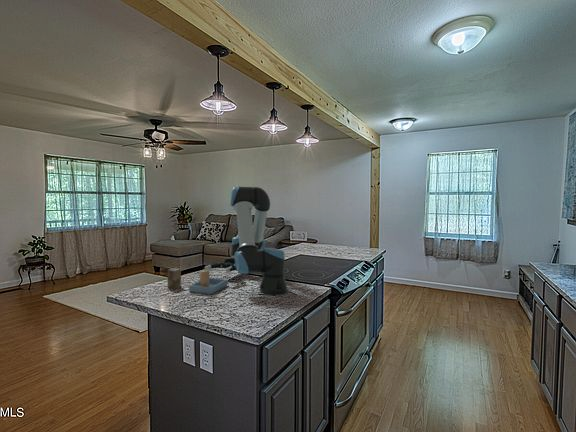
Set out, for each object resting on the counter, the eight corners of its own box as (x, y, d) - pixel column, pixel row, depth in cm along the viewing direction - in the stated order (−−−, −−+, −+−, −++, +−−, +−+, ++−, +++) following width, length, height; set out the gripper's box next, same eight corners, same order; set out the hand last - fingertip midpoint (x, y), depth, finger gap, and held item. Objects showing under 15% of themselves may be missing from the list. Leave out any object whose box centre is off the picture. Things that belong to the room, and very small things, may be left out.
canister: (211, 288, 173) (211, 270, 173) (206, 290, 168) (206, 272, 168) (202, 288, 174) (202, 270, 174) (198, 290, 170) (198, 271, 169)
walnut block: (180, 286, 180) (180, 268, 179) (175, 288, 175) (175, 270, 174) (173, 285, 181) (173, 268, 180) (167, 287, 176) (167, 270, 176)
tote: (227, 285, 182) (227, 279, 182) (212, 294, 165) (212, 287, 165) (206, 283, 186) (206, 277, 186) (189, 291, 169) (189, 285, 169)
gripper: (249, 270, 201) (235, 278, 180) (213, 267, 207) (196, 274, 186) (249, 258, 200) (235, 265, 180) (213, 256, 206) (196, 262, 186)
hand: (215, 270), depth 183 cm, fingers open, 13 cm apart
